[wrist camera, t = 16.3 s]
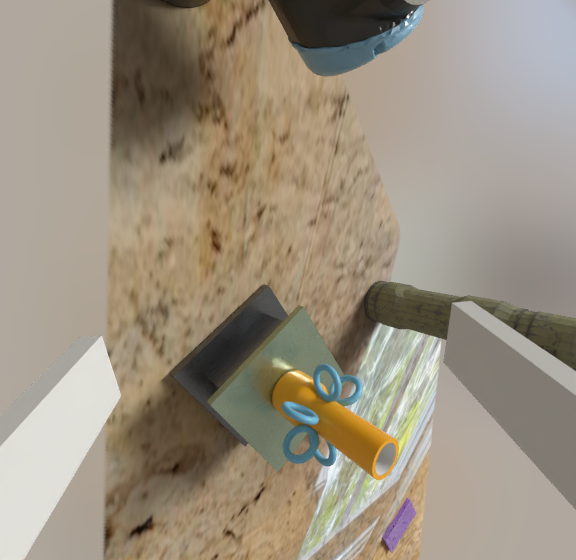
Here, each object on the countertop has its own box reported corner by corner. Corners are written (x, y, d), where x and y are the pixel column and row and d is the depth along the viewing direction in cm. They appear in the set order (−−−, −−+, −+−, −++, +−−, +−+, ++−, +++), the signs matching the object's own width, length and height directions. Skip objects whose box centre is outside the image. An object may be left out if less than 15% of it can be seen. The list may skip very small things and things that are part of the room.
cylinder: (273, 450, 41) (363, 543, 29) (235, 401, 36) (325, 488, 24) (332, 383, 46) (429, 438, 34) (305, 332, 41) (407, 376, 30)
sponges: (380, 535, 83) (386, 541, 81) (406, 495, 88) (412, 500, 87) (386, 548, 86) (392, 554, 84) (411, 508, 91) (416, 513, 90)
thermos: (397, 303, 71) (617, 352, 44) (366, 332, 66) (594, 411, 38) (390, 269, 68) (623, 300, 40) (356, 297, 62) (600, 356, 35)
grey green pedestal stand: (263, 284, 48) (305, 296, 40) (311, 358, 57) (353, 379, 49) (169, 372, 41) (197, 407, 33) (240, 441, 50) (276, 481, 42)
